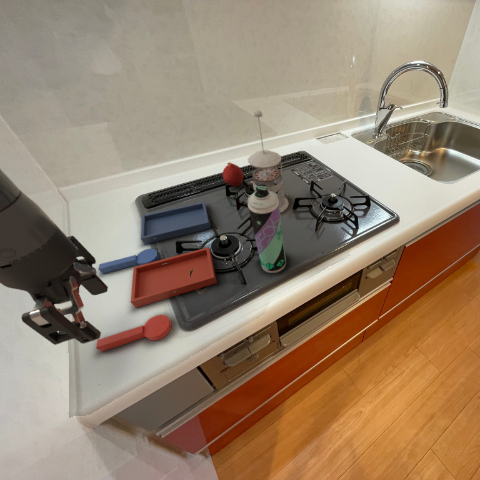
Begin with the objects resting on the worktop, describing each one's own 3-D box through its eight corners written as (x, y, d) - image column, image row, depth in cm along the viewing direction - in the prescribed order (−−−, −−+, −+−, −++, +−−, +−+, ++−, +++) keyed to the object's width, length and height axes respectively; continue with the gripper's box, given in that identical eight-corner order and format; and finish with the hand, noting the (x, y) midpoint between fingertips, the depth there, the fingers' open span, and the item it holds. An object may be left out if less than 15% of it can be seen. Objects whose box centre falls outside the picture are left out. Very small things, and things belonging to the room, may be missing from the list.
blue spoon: (101, 278, 57) (97, 274, 56) (104, 264, 60) (100, 259, 59) (159, 263, 60) (156, 258, 59) (159, 249, 63) (156, 245, 62)
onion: (236, 178, 85) (231, 155, 79) (249, 185, 82) (244, 161, 77) (222, 187, 81) (215, 163, 76) (235, 194, 79) (228, 169, 73)
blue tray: (144, 244, 64) (140, 238, 63) (145, 221, 70) (142, 215, 69) (210, 228, 68) (208, 222, 67) (206, 207, 74) (204, 201, 73)
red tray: (135, 307, 52) (130, 302, 51) (137, 273, 58) (133, 267, 57) (216, 283, 56) (214, 277, 55) (211, 253, 62) (208, 247, 61)
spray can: (258, 258, 61) (241, 182, 47) (281, 251, 63) (271, 176, 49) (265, 276, 58) (248, 199, 44) (289, 268, 59) (280, 192, 45)
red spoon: (99, 360, 45) (94, 356, 44) (103, 336, 48) (98, 332, 47) (172, 335, 48) (168, 330, 47) (171, 314, 51) (168, 310, 50)
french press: (246, 210, 74) (224, 115, 56) (266, 187, 81) (253, 98, 64) (279, 218, 71) (266, 121, 54) (296, 194, 79) (291, 103, 61)
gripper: (-5, 209, 34) (77, 286, 45) (-67, 300, 24) (57, 368, 36) (66, 195, 36) (128, 272, 47) (34, 274, 26) (121, 346, 38)
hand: (97, 313), depth 41 cm, fingers open, 8 cm apart
